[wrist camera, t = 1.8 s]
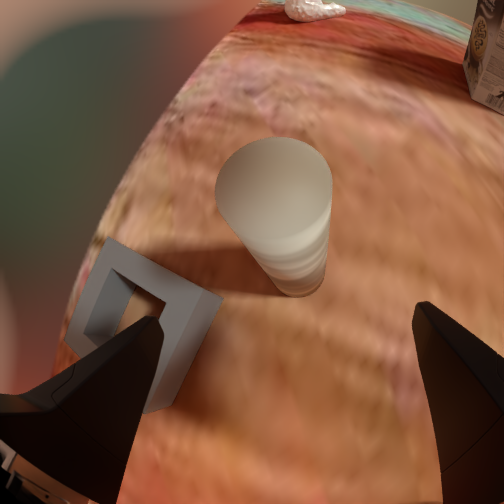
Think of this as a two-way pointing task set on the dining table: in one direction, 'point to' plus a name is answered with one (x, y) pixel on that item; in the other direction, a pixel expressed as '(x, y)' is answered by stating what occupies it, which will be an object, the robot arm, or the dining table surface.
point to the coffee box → (486, 55)
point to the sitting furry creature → (312, 10)
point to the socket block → (171, 320)
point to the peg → (280, 209)
